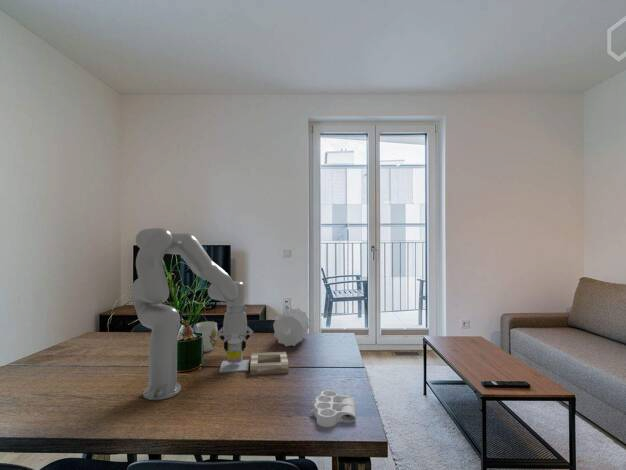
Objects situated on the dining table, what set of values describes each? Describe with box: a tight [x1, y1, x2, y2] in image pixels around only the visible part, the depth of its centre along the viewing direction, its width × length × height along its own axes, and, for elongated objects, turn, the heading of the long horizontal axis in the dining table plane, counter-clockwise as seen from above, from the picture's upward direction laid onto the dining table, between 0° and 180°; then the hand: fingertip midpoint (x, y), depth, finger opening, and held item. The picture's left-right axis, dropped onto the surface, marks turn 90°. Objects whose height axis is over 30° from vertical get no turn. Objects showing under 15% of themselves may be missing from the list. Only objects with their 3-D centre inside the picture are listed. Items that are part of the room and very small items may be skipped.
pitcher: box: [195, 321, 219, 353], centre depth 169 cm, size 11×18×14 cm, turn 166°
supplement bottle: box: [226, 334, 244, 364], centre depth 145 cm, size 7×7×13 cm
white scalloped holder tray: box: [309, 389, 357, 428], centre depth 107 cm, size 3×18×15 cm
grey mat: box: [218, 359, 250, 373], centre depth 145 cm, size 12×12×1 cm
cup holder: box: [249, 351, 290, 376], centre depth 146 cm, size 16×16×4 cm
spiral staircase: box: [272, 307, 310, 347], centre depth 182 cm, size 18×18×25 cm
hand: (234, 349), depth 145 cm, fingers closed on supplement bottle, 6 cm apart
